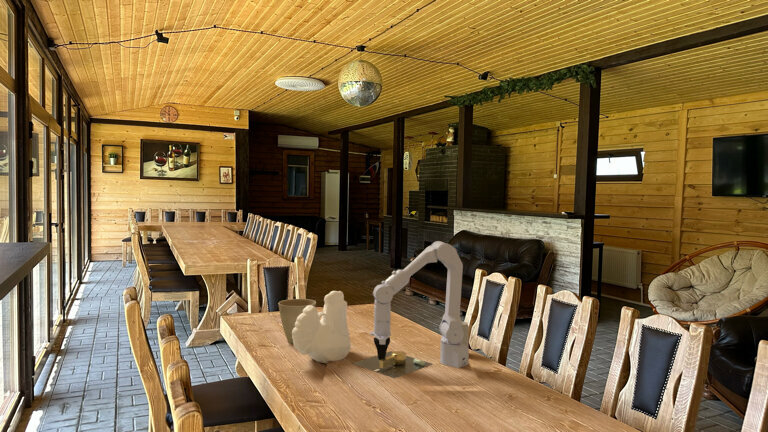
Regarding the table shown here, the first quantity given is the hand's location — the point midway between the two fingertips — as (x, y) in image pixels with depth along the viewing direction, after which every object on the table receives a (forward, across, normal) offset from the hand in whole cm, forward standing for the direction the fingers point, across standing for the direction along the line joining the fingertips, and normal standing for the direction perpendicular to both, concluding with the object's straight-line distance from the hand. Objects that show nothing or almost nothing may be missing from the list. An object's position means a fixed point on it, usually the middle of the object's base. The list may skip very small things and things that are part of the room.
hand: (381, 359), depth 177 cm
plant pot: (+4, -32, -34) cm, 47 cm away
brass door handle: (+2, 0, +4) cm, 4 cm away
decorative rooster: (+4, -8, -22) cm, 24 cm away
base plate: (+3, -2, +4) cm, 5 cm away
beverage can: (+4, -18, +30) cm, 35 cm away
